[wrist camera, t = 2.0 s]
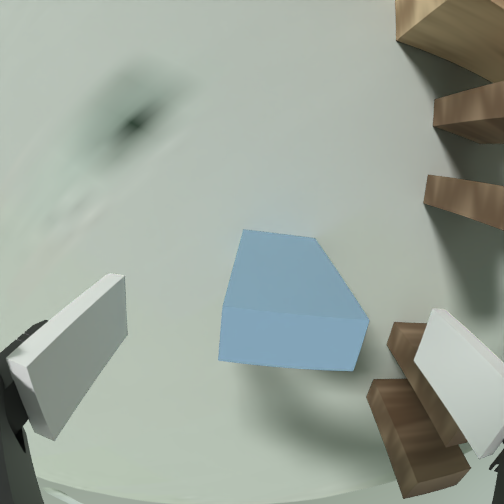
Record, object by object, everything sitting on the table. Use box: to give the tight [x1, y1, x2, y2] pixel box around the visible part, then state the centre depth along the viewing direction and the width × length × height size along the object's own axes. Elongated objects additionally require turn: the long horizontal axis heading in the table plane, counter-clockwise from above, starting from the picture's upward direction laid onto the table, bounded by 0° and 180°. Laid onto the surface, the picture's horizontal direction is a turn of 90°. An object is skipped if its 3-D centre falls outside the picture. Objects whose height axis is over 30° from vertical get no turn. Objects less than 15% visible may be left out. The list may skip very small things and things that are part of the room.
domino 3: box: [424, 175, 504, 230], centre depth 14 cm, size 2×5×12 cm, turn 83°
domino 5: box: [366, 379, 471, 499], centre depth 19 cm, size 2×5×12 cm, turn 84°
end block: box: [395, 0, 504, 83], centre depth 11 cm, size 6×12×10 cm, turn 83°
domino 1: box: [218, 229, 369, 371], centre depth 16 cm, size 2×5×12 cm, turn 83°
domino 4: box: [387, 322, 468, 447], centre depth 18 cm, size 2×5×12 cm, turn 83°
